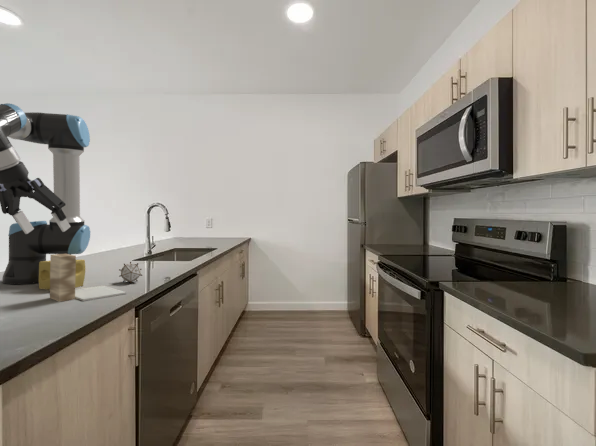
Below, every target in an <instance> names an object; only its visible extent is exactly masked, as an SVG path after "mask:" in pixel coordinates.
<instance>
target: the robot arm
mask: <svg viewBox="0 0 596 446" xmlns="http://www.w3.org/2000/svg"><path fill="white" fill-rule="evenodd" d="M9 138H10V139H12V140H19V141H24V142H29V143H34V144H38V145H39V144H40V145H47V148H48V150H49V151H50V152H51V153H52V162H53V163H52V167H53V171H52V172H53V173H52V174H53V175H52V176H53V191H52V190H51V189H50V188H49V187H47V186H46V184H45V183H44V182H43V180H42V179H41V178H40V177H37V178H36V177H35V179H33V180H32V179H30V177H29V170H28V169H27V167H26V165H25V163H24V162H23V161H21V157H20V155H19V154H18V152H17V151H16V149H15V147H14V146H13V145H12V143H11V141H10V140H9ZM90 138H91V136H90V130H89V127H88V124H87V123H86V121H85V119H84V118H82V117H81V116H78V115H74V114H67V113H66V114H63V113H62V114H61V113H49V112H48V113H46V112H25V111H23V109H21V107H20V106H18V105H16V104H13V103H8V102H7V103H0V209H1V212H2V213H3V214H4V215H6V214H8V215H9V216H11V217H13V220H14V221H15V222H14V223H11V225H10V226H9V230H8V263H7V264H6V267H5V270H4V272H3V274H2V283H3V284H6V285H29V284H39V262H42V261H47V255H53V254H70V255H80V254H83V253H84V252H85V251H86V249H87V248H88V246H89V242H90V241H91V240H90V239H91V229H90V226H89V225H87V224H85V220H84V218H83V217H81V205H80V204H81V202H80V201H81V199H80V198H81V195H80V193H81V185H80V181H81V180H80V167H81V166H80V156H81V155H82V154H83V153H84V152H85V148H87V147H89V145H90V142H91V139H90ZM21 198H29V199H32V200H34V201H36V202H37V203H39V204H40V205H42V206H44V207H45V208H47V209H48V210H50V211H51V212H50V214H51V216H52V218H51V219H49V224H48V222H47V220H38V221H36V220H35V221H30V220H29V218H27V216H26V214H25V213H24V211H23V210H22V209H21V208H20V204H21Z"/></svg>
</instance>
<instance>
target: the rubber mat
mask: <svg viewBox="0 0 596 446" xmlns="http://www.w3.org/2000/svg"><path fill="white" fill-rule="evenodd" d="M123 295H127V291H123V290H121V289H120V290H119V289H118V288H113V287H110V286H107V285H98V286H97V285H96V286H90V287H84V288H75V300H78V301H79V300H80V301H82V302H86V301H93V300H99V299H105V298H110V297H115V296H116V297H117V296H123Z"/></svg>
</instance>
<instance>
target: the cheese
mask: <svg viewBox="0 0 596 446" xmlns="http://www.w3.org/2000/svg"><path fill="white" fill-rule="evenodd" d="M85 277H86V260H85V259H76V274H75V289H77V288H81V287H84V283H85ZM80 286H81V287H80ZM38 289H39V290H49V291H50V260H46V261H42V262H39V283H38Z"/></svg>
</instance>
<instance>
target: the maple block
mask: <svg viewBox="0 0 596 446" xmlns="http://www.w3.org/2000/svg"><path fill="white" fill-rule="evenodd" d="M76 257H77V256H76V254H71V255H70V254H50V260H49V261H50V289H49V299H52V300H54V301H57V302H59V303H60V302H67V301H72V300H73V301H74V300H76V298H75V289H76V288H75V274H76V260H77V258H76Z"/></svg>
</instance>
